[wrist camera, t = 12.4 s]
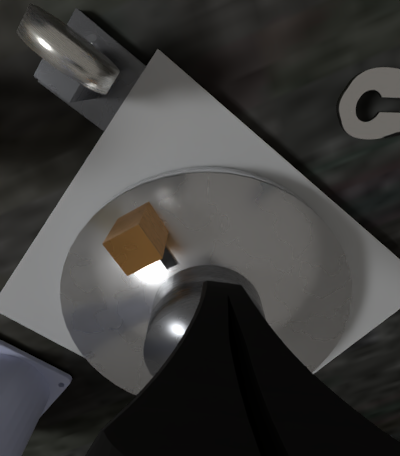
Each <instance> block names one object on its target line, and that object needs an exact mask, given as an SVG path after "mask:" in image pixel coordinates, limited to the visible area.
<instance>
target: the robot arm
mask: <svg viewBox="0 0 400 456" xmlns="http://www.w3.org/2000/svg"><path fill="white" fill-rule="evenodd" d="M71 380H72V377H71V375H69V374H67V373H65V372H63V371H61V370H59V369H58V368H56V367H54V366H52V365H50V364H48V363H46V362H44V361H42V360H40V359H38V358H36V357H34V356H32V355H30V354H28V353H26V352H24V351H22V350H20V349H18V348H16V347H14V346H12V345H10V344H8V343H6V342H4V341H2V340H0V456H21V455H22V453H23V451H24V449H25V447H26V445H27V443H28V441H29V439H30V437H31V435H32V433H33V431H34V428H35V426H36V424H37V422H38V420H39V418H40V417H41V416H42V415H43V414H44V412H45V411H46V410H47V409H48V408H49V407H50V406H51V405H52V403H53V402H54V401H55V400H56V399H57V398H58V397H59V396H60V394H61V393H62V392H63V391H64V390H65V389H66V388H67V387H68V385H69V384H70V383H71ZM86 456H400V442H398V441H397V440H395V439H394V438H392V437H391V436H389V435H388V434H386V433H385V432H384V431H382V430H381V429H379V428H378V427H377V426H375V425H374V424H373V423H371V422H370V421H369V420H367V419H366V418H365V417H363V416H362V415H361V414H359V413H358V412H357V411H356V410H354V409H353V408H352V407H351V406H349V405H348V404H347V403H346V402H344V401H343V400H342V399H341V398H340V397H338V396H337V395H336V394H335V393H334V392H333V391H332V390H330V389H329V388H328V387H327V386H326V385H325V384H324V383H322V382H321V381H320V380H319V379H318V378H317V377H316V376H315V375H314V374H313V373H312V372H311V371H310V370H309V369H308V368H307V367H306V366H305V365H304V364H303V363H302V362H301V361H300V360H299V359H298V358H297V357H296V356H295V355H294V354H293V353H292V352H291V351H290V350H289V348H288V347H287V346H286V345H285V344H284V343H283V341H282V340H281V339H280V338H279V337H278V335H277V334H276V333H275V332H274V330H273V329H272V328H271V326H270V325H269V324H268V322H267V321H266V320H265V318H264V317H263V316H262V314H261V313H260V311H259V310H258V309H257V307H256V306H255V304H254V303H253V301H252V300H251V298H250V297H249V295H248V294H247V292H246V291H245V289H244V288H243V286H242V285H239V284H231V283H224V282H216V281H208V280H206V281H205V282H203V285H202V290H201V296H200V301H199V304H198V307H197V309H196V311H195V314H194V316H193V318H192V320H191V322H190V324H189V326H188V327H187V329H186V331H185V333H184V335H183V336H182V338H181V340H180V341H179V343H178V344H177V346H176V347H175V349H174V350H173V352H172V353H171V355H170V356H169V357H168V359H167V360H166V361H165V363H164V364H163V365H162V367H161V368H160V369H159V371H158V372H157V373H156V374H155V375H154V377H153V378H152V379H151V380H150V381H149V382H148V383H147V384H146V386H145V387H144V388H143V389H142V390H141V391H140V392H139V393H138V394H137V395H136V397H135V398H134V399H133V400H132V401H131V402H130V403H129V404H128V405H127V406H126V407H125V408H124V409H123V410H121V411H120V412H119V413H118V414H117V415H116V416H115V417H114V418H113V419H112V420H111V421H110V422H109V423H108V424H106V425H105V426H104V427H103V428H102V429H101V431H100V432H99V434H98V436H97V437H96V439H95V440H94V442H93V444H92V445H91V447H90V449H89V450H88V452H87V454H86Z"/></svg>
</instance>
